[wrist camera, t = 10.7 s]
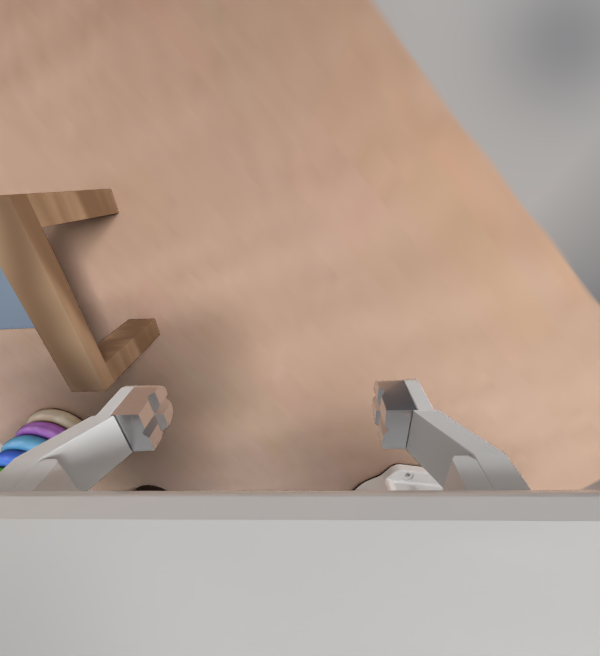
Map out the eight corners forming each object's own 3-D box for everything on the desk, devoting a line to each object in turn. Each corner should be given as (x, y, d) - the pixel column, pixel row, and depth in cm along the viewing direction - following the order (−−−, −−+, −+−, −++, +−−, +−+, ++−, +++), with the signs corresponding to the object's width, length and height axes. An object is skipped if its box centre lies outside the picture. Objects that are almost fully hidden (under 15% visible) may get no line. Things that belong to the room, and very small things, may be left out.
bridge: (110, 188, 25) (7, 194, 17) (159, 334, 32) (105, 391, 24) (78, 190, 25) (-40, 197, 17) (134, 335, 32) (71, 391, 24)
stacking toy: (24, 404, 38) (-192, 577, 22) (81, 406, 38) (-93, 581, 22) (48, 444, 42) (-121, 616, 26) (100, 446, 42) (-36, 620, 25)
